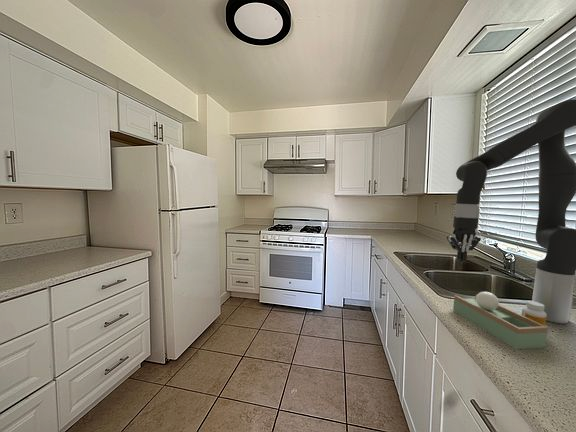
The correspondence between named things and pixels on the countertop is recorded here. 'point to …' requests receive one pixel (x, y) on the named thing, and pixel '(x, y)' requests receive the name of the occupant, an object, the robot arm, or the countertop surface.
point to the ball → (487, 300)
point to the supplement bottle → (534, 312)
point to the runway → (503, 324)
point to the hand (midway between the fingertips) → (461, 260)
